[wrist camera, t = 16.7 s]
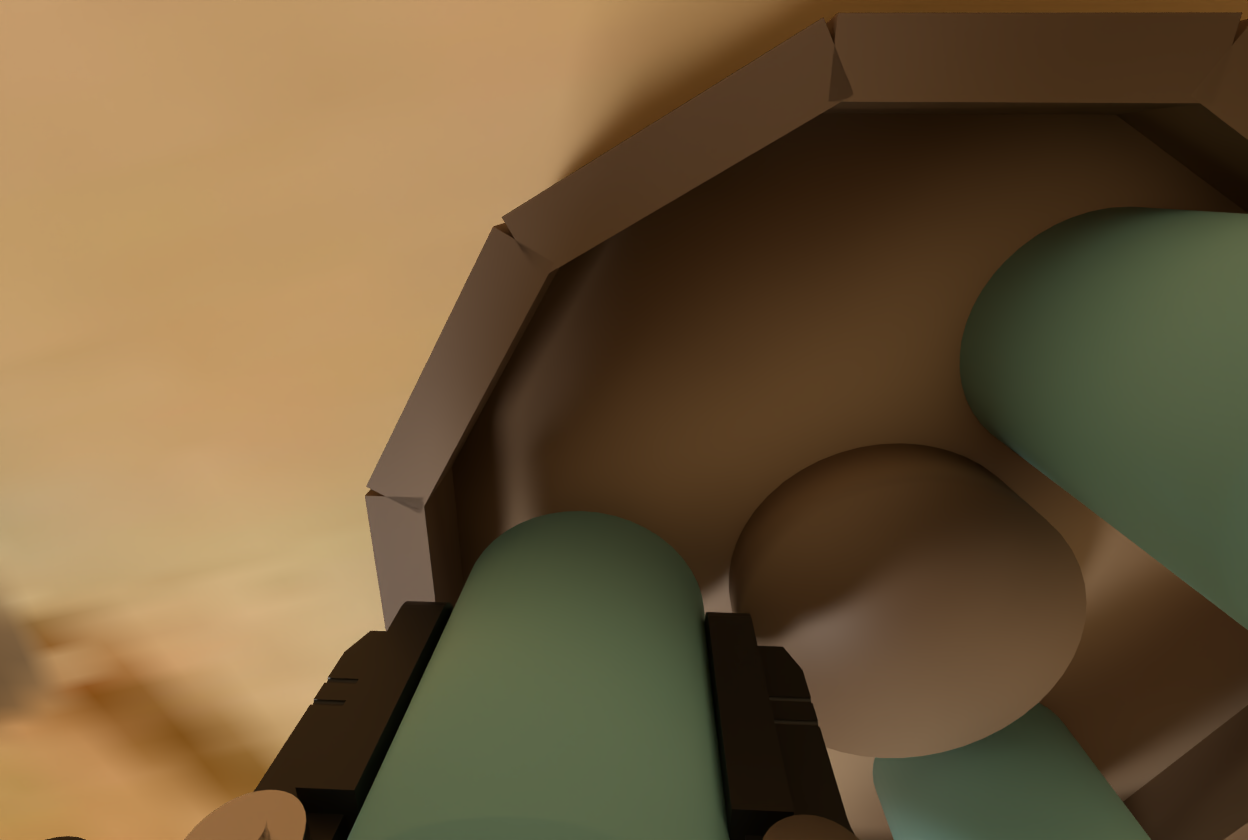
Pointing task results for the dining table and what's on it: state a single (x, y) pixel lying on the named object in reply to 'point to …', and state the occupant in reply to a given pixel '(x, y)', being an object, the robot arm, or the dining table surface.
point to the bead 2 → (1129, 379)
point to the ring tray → (852, 387)
